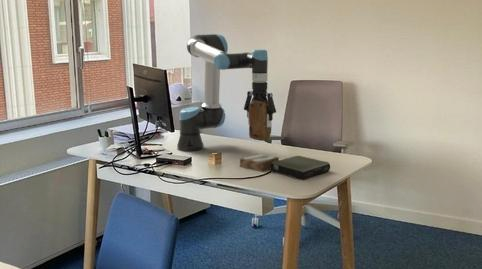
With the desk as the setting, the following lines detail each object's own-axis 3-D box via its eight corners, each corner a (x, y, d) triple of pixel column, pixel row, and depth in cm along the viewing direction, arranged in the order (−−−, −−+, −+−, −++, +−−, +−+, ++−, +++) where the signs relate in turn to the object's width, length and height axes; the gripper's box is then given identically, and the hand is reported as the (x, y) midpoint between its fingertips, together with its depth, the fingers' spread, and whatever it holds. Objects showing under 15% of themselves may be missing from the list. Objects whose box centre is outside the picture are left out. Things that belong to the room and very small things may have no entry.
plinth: (240, 166, 268) (240, 158, 267) (256, 160, 278) (256, 152, 278) (262, 171, 259) (262, 162, 258) (278, 165, 270) (278, 157, 269)
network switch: (293, 163, 275) (294, 154, 274) (333, 171, 261) (333, 161, 259) (266, 173, 258) (266, 163, 256) (307, 182, 243) (308, 171, 242)
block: (272, 139, 266) (273, 99, 261) (264, 142, 260) (264, 101, 256) (255, 136, 272) (255, 97, 268) (246, 139, 266) (246, 99, 262)
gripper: (236, 80, 264) (236, 124, 269) (274, 83, 250) (274, 129, 254) (245, 79, 270) (245, 121, 274) (283, 82, 256) (283, 127, 260)
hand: (259, 125), depth 264 cm, fingers closed on block, 11 cm apart
